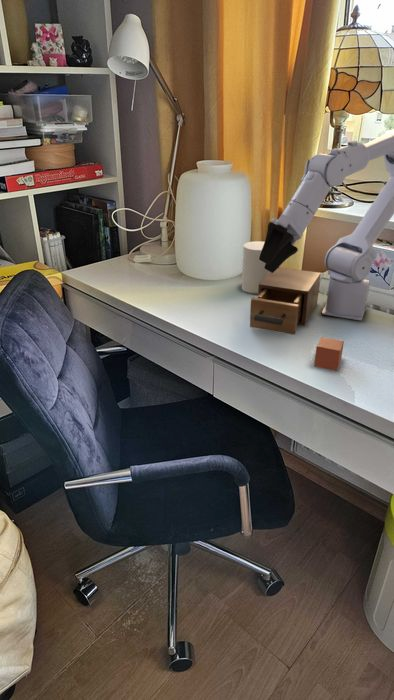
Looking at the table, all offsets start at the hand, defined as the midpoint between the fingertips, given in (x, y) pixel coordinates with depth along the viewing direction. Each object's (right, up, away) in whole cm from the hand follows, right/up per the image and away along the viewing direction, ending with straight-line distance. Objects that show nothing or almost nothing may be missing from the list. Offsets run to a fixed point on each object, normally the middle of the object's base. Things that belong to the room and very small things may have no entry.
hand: (265, 266), depth 99 cm
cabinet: (+8, -8, +19) cm, 22 cm away
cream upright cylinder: (+2, 0, +33) cm, 34 cm away
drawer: (+4, -11, +11) cm, 16 cm away
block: (+12, -20, -3) cm, 24 cm away
